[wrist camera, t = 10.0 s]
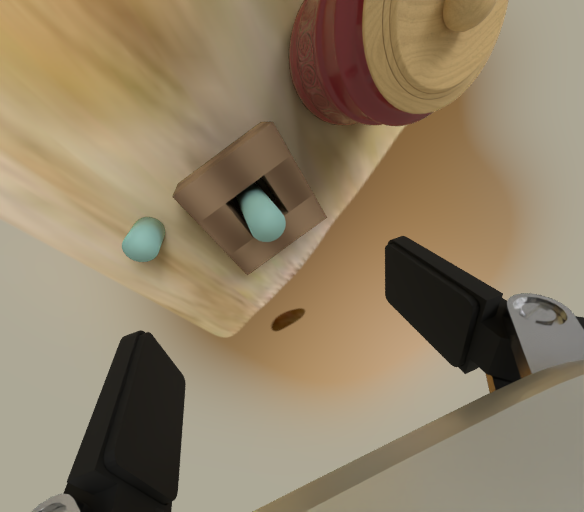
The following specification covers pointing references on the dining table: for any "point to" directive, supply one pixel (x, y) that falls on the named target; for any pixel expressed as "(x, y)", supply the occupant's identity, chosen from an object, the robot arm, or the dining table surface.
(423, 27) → the canister
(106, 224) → the dining table surface
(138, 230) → the short dowel
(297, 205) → the socket block
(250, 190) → the tall dowel
